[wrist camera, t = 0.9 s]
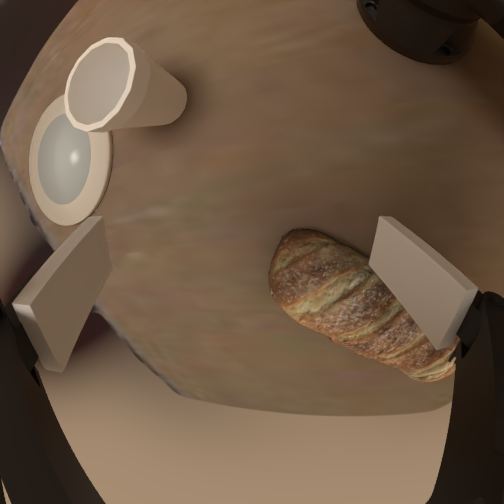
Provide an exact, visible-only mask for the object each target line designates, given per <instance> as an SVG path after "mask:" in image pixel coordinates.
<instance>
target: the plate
mask: <svg viewBox="0 0 504 504" xmlns="http://www.w3.org/2000/svg"><path fill="white" fill-rule="evenodd" d="M64 95H65V94H64ZM64 95H62V96H60V97H59V98H57V99H56V100H55V101H53V102H52V103H51V104H50V105H49V106H48V108H47V109H46V110H45V112H44V113H43V115H42V116H41V118H40V120H39V122H38V124H37V126H36V129H35V132H34V135H33V138H32V142H31V147H30V155H29V173H30V181H31V186H32V190H33V193H34V196H35V199H36V201H37V203H38V205H39V207H40V208H41V210H42V211H43V213H44V214H45V215H46V216H47V217H48V218H49V219H50V220H52V221H53V222H55V223H57V224H60V225H66V226H68V225H73V224H76V223H79V222H82V221H84V220H85V219H87V218H88V217H89V216H90V215H91V214H92V213H93V212H94V211H95V210H96V209H97V207H98V205H99V204H100V202H101V200H102V198H103V196H104V194H105V191H106V189H107V186H108V182H109V179H110V174H111V168H112V160H113V141H112V133H111V130H110V131H107V132H104V133H101V132H86V131H83V130H80V129H78V128H75V127H74V126H73V125H72V123H71V122H70V120H69V119H68V117H67V116H66V110H65V102H64Z"/></svg>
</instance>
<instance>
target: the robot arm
mask: <svg viewBox="0 0 504 504" xmlns="http://www.w3.org/2000/svg"><path fill="white" fill-rule="evenodd" d="M357 6H358V10H359V12H360V15H361V17H362V19H363V20H364V22H365V23H366V25H367V26H368V27H369V29H370V30H371V31H372V32H373V33H374V34H375V35H376V36H377V37H378V38H379V39H380V40H382V41H383V42H384V43H385V44H387V45H388V46H389V47H391V48H392V49H394V50H395V51H397V52H399V53H401V54H403V55H405V56H407V57H409V58H412V59H414V60H417V61H420V62H424V63H430V64H446V63H450V62H453V61H455V60H457V59H458V58H460V57H461V56H462V55H463V54H465V53H466V52H467V51H468V50H469V48H470V47H471V45H472V43H473V40H474V37H475V33H476V29H477V25H478V20H479V19H480V18H482V19H483V20H484V21H485V22H486V23H487V24H489V25H490V26H491V27H492V28H493V29H494V30H495V31H496V32H497V33H498V34H499V35H500V36H501V37H502V38H503V39H504V0H357ZM369 266H370V267H371V268H372V269H373V270H374V271H375V273H376V274H377V275H378V276H379V277H380V279H381V280H382V281H383V282H384V283H385V285H386V286H387V287H388V288H389V289H390V291H391V292H392V293H393V294H394V296H395V297H396V298H397V299H398V301H399V302H400V303H401V304H402V306H403V307H404V308H405V309H406V311H407V312H408V313H409V314H410V316H411V317H412V318H413V320H414V321H415V322H416V324H417V325H418V326H419V327H420V329H421V330H422V331H423V333H424V334H425V335H426V337H427V338H428V340H429V341H430V342H431V344H432V345H433V346H434V348H435V349H436V350H440V349H443V348H447V347H449V346H450V345H451V343H452V341H453V339H454V337H455V336H456V335H457V336H458V337H459V338H460V341H459V343H458V344H457V346H456V348H455V349H454V351H453V353H452V354H451V356H450V358H449V360H448V362H451V360H452V359H453V358H454V357H456V360H455V361H454V364H456V366H455V380H454V391H453V400H452V408H451V415H450V422H449V428H448V433H447V439H446V444H445V449H444V453H443V458H442V462H441V466H440V470H439V473H438V477H437V480H436V484H435V487H434V490H433V493H432V496H431V498H430V499H429V500H428V501H427V503H426V504H504V298H502V297H501V296H500V295H498V294H496V293H494V292H490V291H488V292H485V293H484V294H482V293H481V292H480V291H479V290H478V289H479V288H478V287H477V286H476V285H475V284H473V283H472V282H471V281H470V280H469V279H468V278H467V277H466V276H465V275H464V274H462V273H461V272H460V271H459V270H458V269H457V268H456V267H454V266H453V265H452V264H451V263H450V262H449V261H447V260H446V259H445V258H444V257H443V256H442V255H440V254H439V253H438V252H437V251H435V250H434V249H433V248H432V247H431V246H429V245H428V244H427V243H426V242H424V241H423V240H422V239H421V238H419V237H418V236H417V235H415V234H414V233H413V232H412V231H410V230H409V229H408V228H406V227H405V226H404V225H402V224H401V223H400V222H398V221H397V220H396V219H394V218H393V217H392V216H379V221H378V225H377V230H376V235H375V239H374V243H373V248H372V252H371V256H370V260H369ZM111 271H112V264H111V259H110V254H109V248H108V243H107V237H106V231H105V225H104V218H103V216H92V217H88V218H87V219H86V220H85V221H84V222H83V223H82V224H81V225H80V226H79V227H78V228H77V229H76V230H75V231H74V232H73V233H72V234H71V235H70V236H69V237H68V238H67V239H66V240H65V241H64V242H63V243H62V245H61V246H60V247H59V248H58V249H57V250H56V251H55V252H54V253H53V255H52V256H51V257H50V258H49V259H48V260H47V261H46V262H45V263H44V265H43V266H42V267H41V268H39V269H38V270H36V271H35V272H34V273H32V274H31V275H30V276H29V277H28V279H27V280H26V281H25V284H23V285H22V286H21V287H20V288H19V290H18V291H17V292H16V293H15V294H14V296H13V297H12V299H11V300H10V301H9V302H8V303H7V305H6V306H5V307H4V306H3V304H2V301H1V299H0V504H6V501H5V497H4V492H3V486H2V481H3V484H4V486H5V489H6V491H7V494H8V497H9V499H10V501H11V504H105V502H104V501H103V499H102V498H101V497H100V495H99V493H98V492H97V491H96V489H95V487H94V486H93V484H92V483H91V481H90V480H89V478H88V477H87V475H86V473H85V472H84V470H83V468H82V467H81V465H80V463H79V462H78V460H77V458H76V456H75V454H74V453H73V451H72V449H71V447H70V445H69V443H68V441H67V439H66V437H65V435H64V433H63V431H62V429H61V427H60V424H59V422H58V420H57V418H56V416H55V413H54V411H53V409H52V406H51V404H50V401H49V399H48V396H47V394H46V391H45V389H44V386H43V383H42V381H41V378H40V375H39V372H38V370H37V369H36V367H35V366H34V365H35V363H36V361H37V359H38V357H39V359H40V361H41V363H42V364H43V366H44V368H45V369H47V370H51V371H57V372H63V371H64V369H65V366H66V364H67V362H68V359H69V357H70V354H71V352H72V350H73V347H74V345H75V343H76V341H77V339H78V336H79V334H80V332H81V330H82V328H83V325H84V323H85V321H86V319H87V317H88V315H89V313H90V311H91V309H92V307H93V305H94V303H95V301H96V299H97V297H98V295H99V293H100V291H101V289H102V287H103V285H104V284H105V282H106V280H107V278H108V276H109V274H110V272H111ZM1 478H2V481H1Z"/></svg>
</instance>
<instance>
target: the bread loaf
mask: <svg viewBox="0 0 504 504" xmlns="http://www.w3.org/2000/svg"><path fill="white" fill-rule="evenodd" d="M283 259H285V261H284V260H283ZM369 260H370V259H369V258H367V257H365V256H363V255H362V254H360V253H358V252H357V251H355V250H353V249H351V248H350V247H348V246H345V245H343V244H341V243H339V242H337V241H335V240H334V239H333V238H331V237H329V236H327V235H324V234H323V233H320V232H317V231H313V230H309V229H302V230H292V231H290V232H289V233H288V234H287V235H285V236H282V239H281V241H280V243H279V245H278V247H277V249H276V251H275V254H274V256H273V259H272V261H271V265H270V270H269V272H268V273H269V288H270V293H271V294H272V296H273V298H274V300H275V302H276V303H277V304H278V305H279V306H280V307H281V308H282V309H283V310H284V312H286V313H287V314H288V315H289V316H290V317H291V318H293V319H294V320H295V321H296V322H297V323H299V324H300V325H303V326H305V327H307V328H309V329H312V330H314V331H317V332H319V333H322V334H324V335H326V336H327V337H329V339H330V340H331V341H332V342H333V343H336V344H340V345H342V346H343V347H345V348H347V349H349V350H351V351H353V352H355V353H356V354H359V355H361V356H363V357H366V358H373V359H375V360H376V361H378V362H380V363H382V364H384V365H389V366H391V367H394V368H399V369H400V370H401V371H402V372H403V373H405V374H406V375H407V376H409V377H410V378H412V379H415V380H419V381H423V382H432V381H436V380H440V379H442V378H444V377H446V376H449V375H450V374H452V373H453V372H454V371H455V366H456V364H454V361H455V360H456V357H454V358H453V359H452V360H451V362H448V360H449V358H450V356H451V354H452V353H453V351H454V349H455V348H456V346H457V344H458V343H459V341H460V338H459V337H458V336H457V335H456V336H455V337H454V339H453V341H452V343H451V345H450V346H449V347H447V348H443V349H440V350H436V349H435V348H434V346H433V345H432V344H431V342H430V341H429V340H428V338H427V337H426V335H425V334H424V333H423V331H422V330H421V329H420V327H419V326H418V325H417V324H416V322H415V321H414V320H413V318H412V317H411V316H410V314H409V313H408V312H407V311H406V309H405V308H404V307H403V306H402V304H401V303H400V302H399V301H398V299H397V298H396V297H395V296H394V294H393V293H392V292H391V291H390V289H389V288H388V287H387V286H386V285H385V283H384V282H383V281H382V280H381V279H380V277H379V276H378V275H377V274H376V273H375V271H374V270H373V269H372V268H371V267H370V266H369ZM329 295H330V296H329ZM399 311H401V312H399ZM453 374H455V373H453Z"/></svg>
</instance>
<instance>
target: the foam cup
mask: <svg viewBox="0 0 504 504" xmlns="http://www.w3.org/2000/svg"><path fill="white" fill-rule="evenodd" d="M64 102H65V110H66V116H67V117H68V119H69V120H70V122H71V123H72V125H73V126H74V127H75V128H78V129H80V130H83V131H86V132H101V133H104V132H107V131H110V130H114V129H123V128H134V127H146V126H159V125H166V124H171V123H172V122H173V121H175V120H176V119H178V118H179V117H180V115H181V114H182V112H183V111H184V109H185V107H186V102H187V93H186V90H185V87H184V86H183V85H182V84H181V83H180V82H179V81H178V80H177V79H176V78H174V77H173V76H172V75H171V74H169V73H168V72H167V71H166V70H165V69H163V68H162V67H161V66H160V65H158V64H157V63H156V62H155V61H153V60H152V59H151V58H150V57H148V56H147V54H146V53H145V52H143V51H142V50H141V49H140V48H139V47H138V46H137V45H136V44H134V43H131V42H129V41H127V40H125V39H123V38H110V37H107V38H105V39H103V40H101V41H99V42H97V43H95V44H93V45H91V46H90V47H89V48H88V49H87V50H86V51H85V52H84V53H83V54H82V56H81V57H80V58H79V59H78V60H77V62H76V64H75V66H74V67H73V69H72V71H71V73H70V75H69V77H68V81H67V85H66V90H65V95H64Z"/></svg>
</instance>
